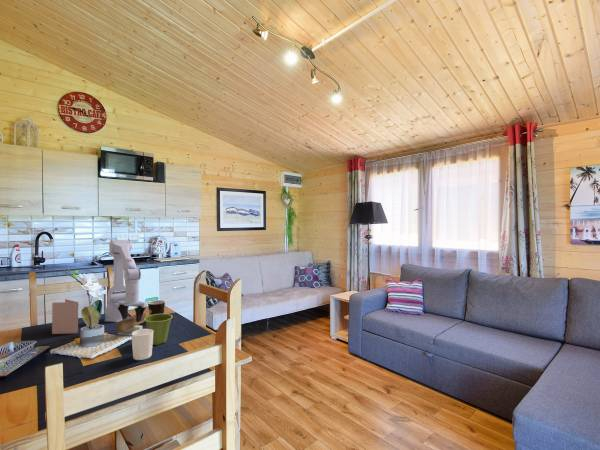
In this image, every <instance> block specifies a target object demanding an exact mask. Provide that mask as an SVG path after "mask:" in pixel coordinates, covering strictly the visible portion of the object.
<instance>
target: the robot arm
mask: <svg viewBox="0 0 600 450" xmlns="http://www.w3.org/2000/svg"><path fill="white" fill-rule="evenodd" d="M108 245H109V249H108V250H109V252H108V253H109V255H110V256H112V258H113V285H112V287H110V288H109V289H108V292H107V302H108V303H107V305H106V307H105V319H104V322H109V323H111V322H113V323H117V322H119V321H121V320H124V319H126V318H128V317H129V316H128V312H129V307H134V311H135V315H136V321H137V322H139V321H141V318H142V314H143V313H145V310H146V309H147V302H143V301H139V296H140V293H139V292H140V291H139V290H140V288H139V287H140V285H139V283H140V279H141V275H142V274H141V273H142V272H141V269H140V267H138V266H137V265H136V262H135V259H134V258H132V256H131V251H132V250H133V243H132V240H130V239H125V240H124V239H122V240H118V239H117V240H114V239H112V240H110V242H109V244H108Z"/></svg>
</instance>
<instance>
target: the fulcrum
mask: <svg viewBox="0 0 600 450" xmlns="http://www.w3.org/2000/svg"><path fill="white" fill-rule="evenodd" d="M141 329H144V328H143V325H140V324H138V325H136V326H134V327H132V328H130V329H128V330H125V331H123V332H122V331H117V332H116V333H115V335H116V334H118V335H117V336H125V335H131V336H130V337H132V333H133V332H134V331H137V330H141Z"/></svg>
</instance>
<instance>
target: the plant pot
mask: <svg viewBox="0 0 600 450" xmlns="http://www.w3.org/2000/svg"><path fill="white" fill-rule="evenodd" d="M172 319H173V315H172V314H169V313H164V314H154V315H150V316H149V315H148V316H147V315H146V317H145V318H144V320H145V326H146V329H152V330H153V345H161V344H164V343H166V342H167V341H168V340H167V339H168V335H169V329H170V325H171V322H172ZM153 345H152V346H153Z"/></svg>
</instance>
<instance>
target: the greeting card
mask: <svg viewBox="0 0 600 450" xmlns="http://www.w3.org/2000/svg"><path fill="white" fill-rule="evenodd" d="M51 304H52V305H51V306H52V307H51V310H52V311H51V312H52V314H51V316H52V317H51V334H53V335H59V334H61V335H62V334H63V335H65V334H78V333H79V305H80V304H79V302H78V301H76V300H75V301H74V300H71V299H64V302H60V301H59V302H52V303H51Z"/></svg>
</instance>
